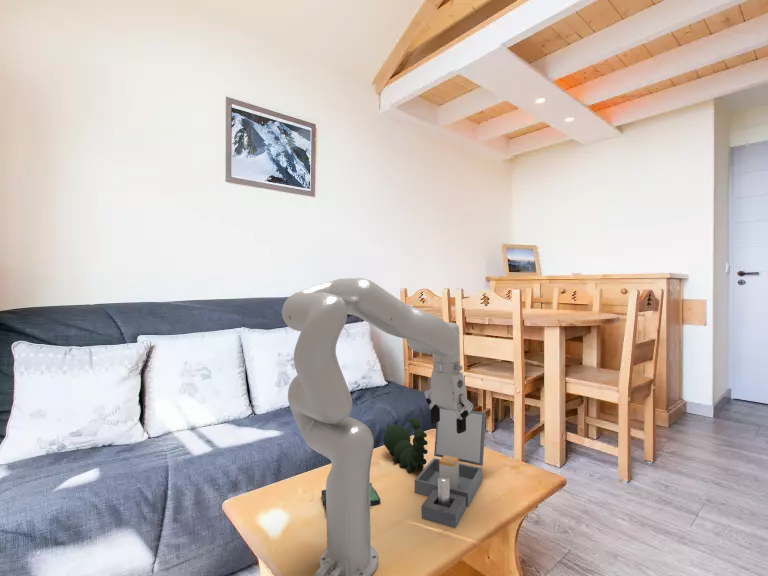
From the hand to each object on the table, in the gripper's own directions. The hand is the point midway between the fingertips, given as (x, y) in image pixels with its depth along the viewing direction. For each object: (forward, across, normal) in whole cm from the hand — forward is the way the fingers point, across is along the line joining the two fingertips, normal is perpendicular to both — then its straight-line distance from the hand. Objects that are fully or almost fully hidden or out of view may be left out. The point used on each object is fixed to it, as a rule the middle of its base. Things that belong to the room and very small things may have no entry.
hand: (448, 427), depth 109 cm
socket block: (+20, -5, +8) cm, 22 cm away
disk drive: (+21, +16, +23) cm, 35 cm away
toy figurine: (+21, +24, -4) cm, 32 cm away
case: (+20, +3, -4) cm, 21 cm away
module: (+20, +3, -4) cm, 20 cm away
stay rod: (+20, -5, +8) cm, 22 cm away
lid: (+8, +7, -13) cm, 17 cm away
